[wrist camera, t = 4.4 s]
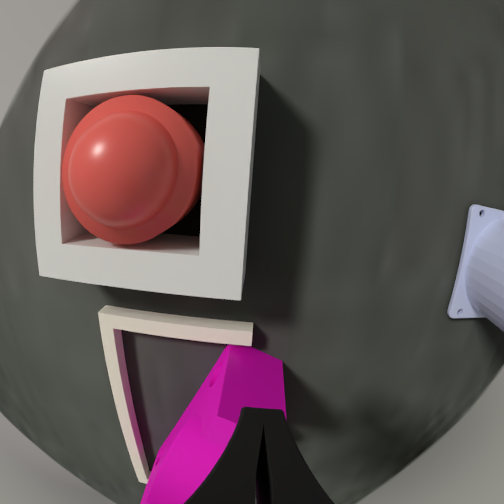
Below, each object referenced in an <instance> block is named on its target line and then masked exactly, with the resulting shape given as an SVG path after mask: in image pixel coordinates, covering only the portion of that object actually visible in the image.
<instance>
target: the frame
mask: <svg viewBox="0 0 504 504" xmlns="http://www.w3.org/2000/svg"><path fill="white" fill-rule="evenodd" d="M98 315H99V322H100V329H101V335H102V342H103V347H104V353H105V359H106V364H107V369H108V374H109V378H110V383H111V388H112V392H113V396H114V400H115V404H116V408H117V412H118V416H119V420H120V424H121V427H122V431H123V434H124V438H125V441H126V444H127V447H128V451H129V454H130V457H131V460H132V463H133V466H134V469H135V472H136V475H137V477H138V480H139V482H141V483H145V484H147V482H148V480H149V477H150V474H151V471H150V470H149V467H148V463H147V460H146V456H145V452H144V448H143V444H142V440H141V436H140V432H139V428H138V424H137V419H136V415H135V410H134V405H133V400H132V395H131V390H130V385H129V379H128V373H127V367H126V361H125V354H124V348H123V340H122V333H121V330H126V331H132V332H138V333H144V334H150V335H157V336H164V337H171V338H179V339H187V340H195V341H204V342H213V343H223V344H233V345H245V346H251V345H252V334H253V322H241V321H229V320H219V319H209V318H199V317H190V316H181V315H173V314H165V313H157V312H149V311H142V310H135V309H128V308H122V307H115V306H109V305H105V306H104V307H103V308H102V309H101V310H100V311H99V312H98Z"/></svg>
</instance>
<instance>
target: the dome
mask: <svg viewBox="0 0 504 504" xmlns="http://www.w3.org/2000/svg"><path fill="white" fill-rule="evenodd" d="M204 149H205V146H204V143H203V141H202V139H201V136H200V135H199V133H198V131H197V130H196V128H195V127H194V126H193V125H192V124H191V123H190V122H189V121H188V120H187V119H186V118H185V117H183V116H182V115H181V114H179V113H178V112H176V111H174V110H173V109H171V108H170V107H168V106H167V105H165V104H163V103H162V102H160V101H157V100H155V99H153V98H150V97H146V96H140V95H125V96H119V97H115V98H112V99H109V100H107V101H105V102H103V103H101V104H100V105H98V106H96V107H95V108H94V109H92V110H91V111H90V112H89V113H88V114H87V115H86V116H85V117H84V118H83V119H82V120H81V121H80V122H79V124H78V125H77V127H76V128H75V130H74V131H73V133H72V135H71V137H70V139H69V141H68V144H67V147H66V150H65V154H64V159H63V167H62V181H63V188H64V192H65V196H66V199H67V202H68V205H69V207H70V209H71V211H72V213H73V214H74V216H75V217H76V219H77V220H78V221H79V222H80V224H81V225H82V226H83V227H84V228H85V229H87V230H88V231H89V232H90V233H92V234H93V235H95V236H96V237H98V238H100V239H102V240H104V241H107V242H111V243H115V244H136V243H141V242H144V241H147V240H149V239H152V238H154V237H156V236H157V235H159V234H161V233H162V232H164V231H165V230H167V229H168V228H170V227H171V226H173V225H175V224H176V223H178V222H179V221H181V220H182V219H183V218H184V217H185V216H187V215H188V213H189V212H190V211H191V210H192V209H193V208H194V206H195V205H196V204H197V202H198V200H199V198H200V196H201V194H202V180H203V164H204Z"/></svg>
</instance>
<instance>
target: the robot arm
mask: <svg viewBox="0 0 504 504" xmlns="http://www.w3.org/2000/svg"><path fill="white" fill-rule="evenodd" d="M480 211H481V215H479V213H480ZM459 309H460V311H459V312H458V310H459ZM457 312H458V313H457ZM447 314H448V316H449V317H451V318H483V317H486V318H487V319H489V320H490V321H491V322H492V323H494V324H495V325H496V326H497V327H499V328H500V329H501V330H502V331H503V332H504V211H501V210H497V209H493V208H489V207H484V206H480V205H475V204H474V205H472V206H471V207H470V209H469V213H468V220H467V227H466V233H465V238H464V244H463V249H462V254H461V259H460V264H459V268H458V272H457V277H456V281H455V285H454V289H453V293H452V296H451V300H450V304H449V307H448V311H447ZM255 479H256V497H257V504H334V503H333V501H332V500H331V499H330V498H329V496H328V495H327V494H326V493H325V491H324V490H323V489H322V487H321V486H320V484H319V483H318V481H317V480H316V478H315V477H314V475H313V474H312V472H311V470H310V469H309V467H308V465H307V464H306V462H305V460H304V458H303V456H302V455H301V453H300V451H299V449H298V447H297V445H296V443H295V441H294V438H293V436H292V434H291V431H290V429H289V426H288V424H287V421H286V418H285V414H284V412H283V411H282V410H281V409H268V408H255V407H243V408H241V412H240V416H239V420H238V423H237V425H236V428H235V430H234V432H233V434H232V436H231V438H230V440H229V442H228V444H227V446H226V448H225V450H224V451H223V453H222V455H221V456H220V458H219V459H218V461H217V463H216V464H215V466H214V467H213V469H212V470H211V472H210V473H209V474H208V476H207V477H206V478H205V480H204V481H203V482H202V483H201V485H200V486H199V487H198V488H197V489H196V491H195V492H194V493H193V494H192V495H191V496H190V497H189V498H188V499H187V500H186V502H185V503H184V504H255Z"/></svg>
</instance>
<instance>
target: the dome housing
mask: <svg viewBox="0 0 504 504" xmlns="http://www.w3.org/2000/svg"><path fill="white" fill-rule="evenodd" d="M259 81H260V59H259V48H238V47H200V48H177V49H163V50H152V51H142V52H134V53H126V54H119V55H113V56H107V57H101V58H96V59H90V60H85V61H81V62H76V63H72V64H67V65H63V66H59V67H55V68H51V69H48V70H44V74H43V80H42V86H41V92H40V99H39V107H38V115H37V125H36V136H35V151H34V221H35V236H36V248H37V258H38V267H39V274H40V276H45V277H51V278H57V279H63V280H70V281H76V282H83V283H90V284H97V285H104V286H112V287H119V288H127V289H135V290H143V291H151V292H160V293H169V294H178V295H187V296H197V297H207V298H218V299H229V300H240V301H241V296H242V290H243V284H244V278H245V272H246V257H247V243H248V229H249V215H250V201H251V188H252V174H253V160H254V147H255V134H256V120H257V107H258V94H259ZM125 95H140V96H146V97H150V98H153V99H155V100H157V101H160V102H162V103H163V104H165V105H178V104H208V111H207V123H206V136H205V149H204V164H203V180H202V199H201V221H200V236H190V235H176V234H162V233H161V234H159V235H157V236H156V237H154V238H152V239H149V240H147V241H144V242H141V243H136V244H115V243H111V242H107V241H104V240H102V239H100V238H98V237H96V236H95V235H93V234H92V233H90V232H89V231H88V230H87V229H85V228H84V227H83V226H82V225H81V224H80V222H79V221H78V220H77V219H76V217H75V216H74V214H73V213H72V211H71V209H70V207H69V205H68V202H67V199H66V196H65V192H64V188H63V181H62V167H63V159H64V154H65V150H66V147H67V144H68V141H69V139H70V137H71V135H72V133H73V131H74V130H75V128H76V127H77V125H78V124H79V122H80V121H81V120H82V119H83V118H84V117H85V116H86V115H87V114H88V113H89V112H90V111H91V110H92V109H94V108H95V107H96V106H98V105H100V104H101V103H103V102H105V101H107V100H109V99H112V98H115V97H119V96H125Z"/></svg>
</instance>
